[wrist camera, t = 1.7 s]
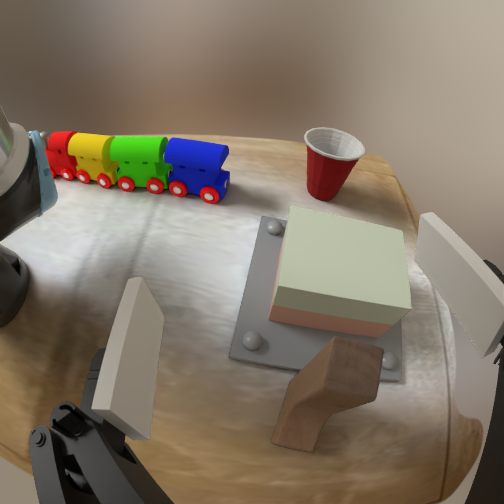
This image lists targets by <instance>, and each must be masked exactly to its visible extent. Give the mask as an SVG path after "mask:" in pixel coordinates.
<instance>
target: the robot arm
mask: <svg viewBox="0 0 504 504" xmlns="http://www.w3.org/2000/svg"><path fill="white" fill-rule="evenodd" d="M57 198H58V194H57V190H56V186H55V183H54V179H53V176H52V173H51V170H50V166H49V163H48V159H47V156H46V152H45V149H44V145H43V142H42V139H41V135H40V133H39V132H38V131H36V130H35V131H32V132H31V131H30V132H28V133H27V132H26V131H25V130H24V128H23V127H22V126H20V125H18V124H15V123H8V121H7V119H6V117H5V115H4V112H3V110H2V108H1V106H0V241H2V240H3V239H5V238H6V237H7V236H9V235H10V234H12V233H13V232H15V231H16V230H18V229H19V228H21V227H22V226H24V225H25V224H27V223H28V222H30V221H32V220H33V219H35V218H36V217H40V216H41V215H42V214H43V213H44V212H45V211H47V210H48V209H49V208H51V207H52V206H54V205H55V203H56V201H57ZM414 261H415V262H416V263H417V265H418V266H419V267H420V269H421V270H422V271H423V272H424V274H425V275H426V276H427V278H428V279H429V280H430V282H431V283H432V284H433V286H434V287H435V288H436V290H437V291H438V293H439V294H440V295H441V297H442V298H443V300H444V301H445V302H446V304H447V305H448V307H449V308H450V310H451V311H452V312H453V314H454V315H455V317H456V318H457V320H458V321H459V323H460V324H461V326H462V327H463V329H464V330H465V332H466V334H467V335H468V337H469V338H470V340H471V341H472V343H473V345H474V346H475V348H476V349H477V351H478V353H479V354H480V356H481V358H484V357H485V356H487V355H489V354H491V353H492V352H494V351H495V349H496V348H497V346H498V344H499V343H501V345H502V346H503V348H502V349H501V351H500V353H499V354H498V355H497V357H496V358H495V360H494V364H496V363H497V361H498V360H499V358H500V363H499V364H498V365H499V373H498V382H497V388H496V395H495V401H494V406H493V412H492V417H491V421H490V426H489V430H488V435H487V438H486V442H485V446H484V450H483V453H482V457H481V460H480V463H479V466H478V469H477V472H476V475H475V478H474V481H473V484H472V487H471V489H470V492H469V494H468V497H467V499H466V502H465V504H504V275H502V272H501V271H500V270H499V269H498V268H497V267H496V266H495V265H494V264H492V263H491V262H489V261H487V260H483V261H482V260H481V258H480V257H479V256H478V255H477V254H476V253H475V252H474V251H473V250H472V249H471V248H470V247H469V246H468V245H467V244H466V243H465V242H464V241H463V240H462V239H461V238H460V237H459V236H458V235H457V234H456V233H454V231H453V230H451V228H449V227H448V226H447V225H446V224H445V223H444V222H443V221H442V220H441V219H440V218H439V217H438V216H436V215H435V214H434V213H433V212H429V213H425V214H421V215H420V221H419V230H418V238H417V245H416V252H415V259H414ZM28 282H29V276H28V270H27V267H26V265H25V263H24V262H23V260H22V259H21V258H20V257H19V256H18V255H17V254H16V253H15V252H13V251H12V250H10V249H8V248H6V247H4V246H2V245H1V244H0V327H2V326H4V325H5V324H7V323H8V322H9V321H10V320H11V319H12V318H13V317H14V316H15V315H16V313H17V312H18V310H19V309H20V307H21V305H22V303H23V301H24V299H25V296H26V293H27V289H28ZM164 320H165V316H164V314H163V312H162V311H161V309H160V307H159V305H158V304H157V302H156V300H155V298H154V296H153V295H152V293H151V291H150V289H149V287H148V285H147V283H146V281H145V280H144V278H143V276H139V277H135V278H130V279H128V281H127V284H126V287H125V290H124V292H123V295H122V298H121V301H120V304H119V308H118V311H117V314H116V317H115V320H114V323H113V327H112V330H111V333H110V337H109V340H108V344H107V347H106V348H105V349H99V350H98V352H97V353H96V355H95V356H94V358H93V359H92V363H91V366H90V372H89V373H88V377H87V379H88V380H87V381H86V385H85V389H84V392H83V397H82V401H81V405H80V409H79V408H78V407H76V406H75V405H74V404H73V403H70V402H62V403H60V404H58V405H57V406H56V407H55V408H54V409H53V411H52V413H51V417H50V425H51V427H52V428H53V429H54V430H51V429H49V428H48V427H47V426H44V425H38V426H36V427H35V428H34V429H33V430H32V431H31V433H30V436H29V448H30V456H31V463H32V469H33V475H34V480H35V485H36V490H37V495H38V499H39V503H40V504H174V503H173V502H172V501H171V499H170V498H169V497H168V496H167V495H166V494H165V492H164V491H163V490H162V489H161V488H160V487H159V485H158V484H157V483H156V482H155V480H154V479H153V478H152V477H151V475H150V474H149V473H148V471H147V470H146V469H145V468H144V466H143V465H142V464H141V462H140V461H139V460H138V458H137V457H136V455H135V454H134V453H133V451H132V450H131V448H130V447H129V445H128V444H127V443H126V442H125V435H126V436H128V437H129V438H131V439H132V440H150V437H151V424H152V414H153V403H154V394H155V385H156V377H157V369H158V361H159V354H160V347H161V340H162V333H163V327H164Z"/></svg>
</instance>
